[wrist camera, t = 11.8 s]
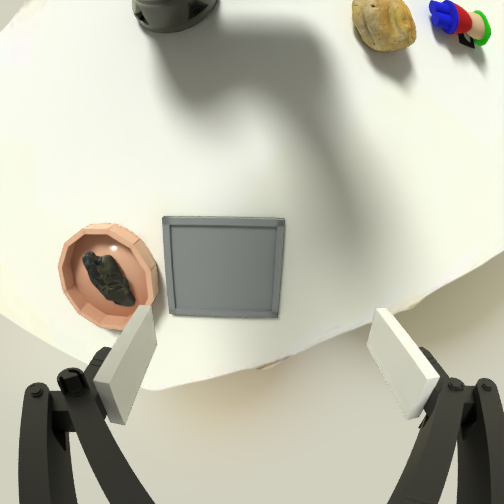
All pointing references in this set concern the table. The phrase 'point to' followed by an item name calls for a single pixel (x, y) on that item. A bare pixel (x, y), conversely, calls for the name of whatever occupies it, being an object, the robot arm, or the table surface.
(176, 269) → the tray
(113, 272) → the stone
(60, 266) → the bowl
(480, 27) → the toy figure
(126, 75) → the table surface
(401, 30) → the stone
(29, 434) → the robot arm
